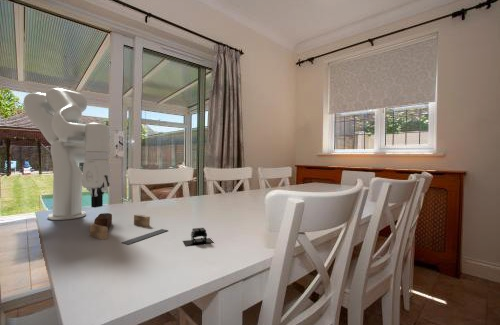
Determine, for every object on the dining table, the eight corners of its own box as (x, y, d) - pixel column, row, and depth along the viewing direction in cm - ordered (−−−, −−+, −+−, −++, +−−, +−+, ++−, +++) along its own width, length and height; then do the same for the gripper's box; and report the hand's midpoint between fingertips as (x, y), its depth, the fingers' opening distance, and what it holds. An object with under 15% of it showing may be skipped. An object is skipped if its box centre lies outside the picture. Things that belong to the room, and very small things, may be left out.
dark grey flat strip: (121, 242, 74) (121, 242, 74) (161, 229, 88) (161, 228, 88) (128, 244, 72) (128, 244, 72) (168, 230, 87) (168, 230, 87)
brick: (107, 232, 83) (107, 218, 83) (93, 233, 82) (93, 219, 82) (112, 224, 93) (112, 211, 93) (100, 224, 92) (100, 212, 92)
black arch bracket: (179, 250, 71) (180, 234, 71) (176, 242, 78) (176, 227, 78) (221, 245, 76) (221, 230, 76) (214, 238, 83) (215, 224, 83)
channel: (89, 236, 79) (89, 225, 79) (137, 223, 95) (137, 214, 95) (102, 239, 76) (102, 228, 76) (149, 225, 92) (149, 216, 92)
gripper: (74, 157, 91) (74, 206, 91) (99, 156, 84) (100, 210, 84) (94, 157, 98) (94, 203, 98) (119, 157, 91) (119, 206, 91)
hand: (97, 206), depth 91 cm, fingers closed
